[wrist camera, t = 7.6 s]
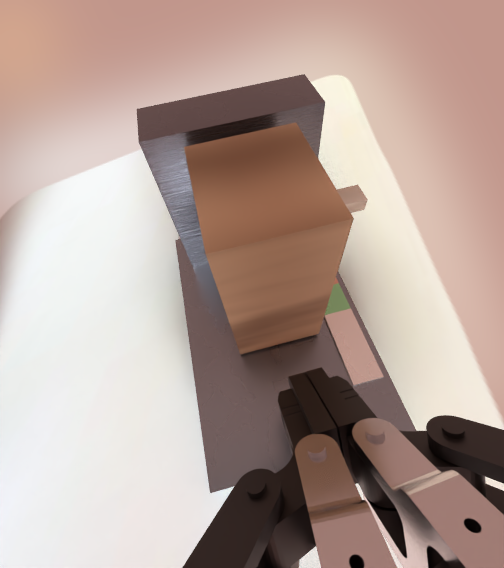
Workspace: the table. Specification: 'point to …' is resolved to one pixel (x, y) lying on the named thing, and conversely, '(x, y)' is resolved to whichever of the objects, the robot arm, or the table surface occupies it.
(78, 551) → the table surface
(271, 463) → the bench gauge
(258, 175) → the block
